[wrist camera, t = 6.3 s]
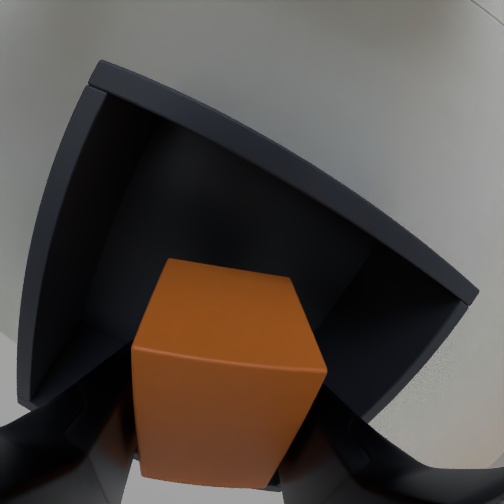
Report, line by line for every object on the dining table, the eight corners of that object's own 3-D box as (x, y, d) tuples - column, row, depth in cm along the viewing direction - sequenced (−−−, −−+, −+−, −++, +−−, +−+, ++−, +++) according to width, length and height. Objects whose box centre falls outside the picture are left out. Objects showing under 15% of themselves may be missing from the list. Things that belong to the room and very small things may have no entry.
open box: (265, 396, 17) (279, 492, 11) (73, 315, 14) (16, 403, 8) (390, 227, 14) (480, 291, 8) (162, 94, 11) (99, 58, 5)
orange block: (254, 396, 11) (265, 489, 7) (158, 384, 10) (141, 477, 6) (290, 276, 9) (330, 370, 5) (168, 256, 8) (130, 346, 5)
